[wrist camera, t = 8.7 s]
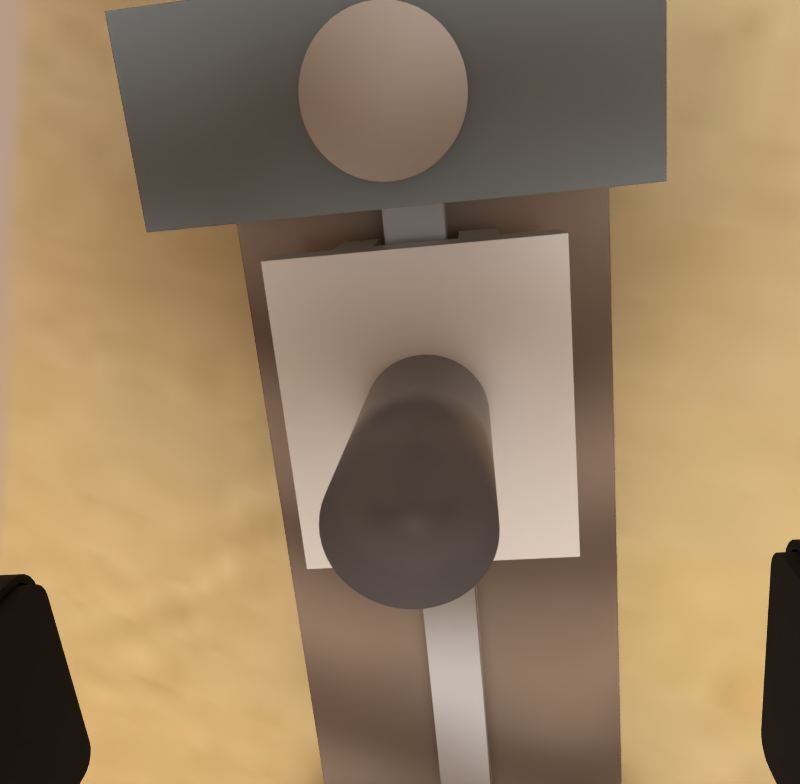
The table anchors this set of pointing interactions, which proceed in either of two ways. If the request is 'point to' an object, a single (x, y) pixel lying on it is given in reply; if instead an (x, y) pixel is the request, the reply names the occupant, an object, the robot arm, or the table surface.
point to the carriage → (428, 407)
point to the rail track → (407, 223)
